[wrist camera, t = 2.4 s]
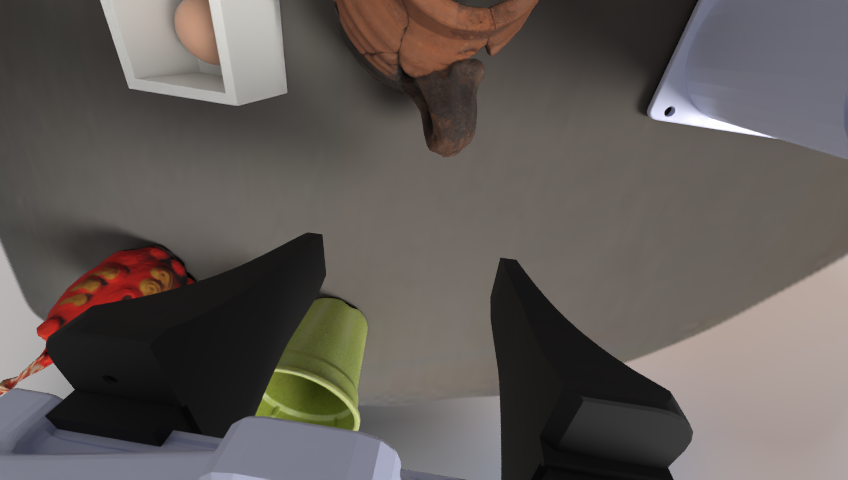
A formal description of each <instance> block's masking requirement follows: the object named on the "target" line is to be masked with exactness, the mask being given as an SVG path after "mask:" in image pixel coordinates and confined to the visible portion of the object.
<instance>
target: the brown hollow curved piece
mask: <svg viewBox="0 0 848 480" xmlns="http://www.w3.org/2000/svg"><path fill="white" fill-rule="evenodd" d="M538 1H539V0H505V1H503V2H501V3H499V4H496V5H494V6H491V7H489V8H483V7H470V6H467V5H463V4H460V3H457V2H454V1H452V0H334V6H335V9H334V12H335V16H336V19H337V24H338V26H339V29H340V31H341V34H342V37H343V39H344V41H345V43H346V44H347V46H348V47H349V49H350V50H351V51H352V52H353V54H354V55H355V56H356V58H357V59H358V61H359V62H360V64H361V65H362V66H363V67H364V68H365V69H366V70H367V71H368V72H369V73H370V74H371V75H372V76H373V77H375V78H376V79H377V80H379V81H380V82H382V83H383V84H385V85H387V86H389V87H391V88H393V89H395V90H396V91H398V92H399V93H400V94H407V95H409V96H410V97H411V98H412V99H413V101H414V102H415V103H416V105H417V107H418V109H419V111H420V113H421V117H422V122H423V130H424V136H425V140H426V143H427V146H428V148H429V150H431V151H432V152H435V153H438V154H440V155H442V156H443V157H449V156H453V155H456V154H458V153H459V152H460V151H461V150H462V149H463V148H464V147H465V146H467V145H468V144H469V143H470V142H471V140H472V139H473V136H474V133H475V128H476V118H477V103H476V93H477V89H478V86H479V84H480V83H481V82H482V80H483V79H484V65H483V64H482V62H481V61H479V60H477V59H469V58H470V57H471V56H473V55H475V54H476V53H477V51H478V50H479V49H480V48H482V47H483V46H485V48H486V51H487V53H488V54H489V55H490V56H493V55H494V54H496V53H497V52H499V51H500V49H502V48H503V47H504V46H505V45H506V44H507V43H508V42H509V41H510V39H511V38H512V37H513V36H514V35H515V34H516V33H517V32H518V31H519V30H520V28H521V27H522V26H523V24H524V23H525V21H526V20H527V18H528V16H529V14H530V13H531V11H532V10H533V8H534V6H535V5H536V4H537V3H538ZM401 67H402V68H401ZM402 69H403V70H404V72H406V73H407V74H408V75H409V76H411V77H405V76H404V75H403V73H402Z"/></svg>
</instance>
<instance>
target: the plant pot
mask: <svg viewBox="0 0 848 480" xmlns="http://www.w3.org/2000/svg"><path fill="white" fill-rule="evenodd" d="M367 330H368V327H367V322H366V320H365V318H364V316H363V315H362V313H361V312H360V311H359V310H358V309H354V308H351V307H350V306H348V305H347V304H346V303H345V302H344V301H342V300H339V299H334V298H320V299H316V300H314V302H313V303H312V305H311V307H310V308H309V310H308V311H307V313H306V315H305V316H304V318H303V319H302V321H301V323H300V324H299V326H298V328H297V329H296V331H295V332H294V334H293V336H292V337H291V339H290V341H289V342H288V344H287V346H286V348H285V350H284V352H283V354H282V356H281V358H280V360H279V362H278V364H277V366H276V369H275V371H274V373H273V375H272V377H271V380H270V382H269V384H268V386H267V389H266V391H265V393H264V395H263V398H262V400H261V403H260V405H259V408H258V410H257V412H256V415H255V416H268V417H274V418H280V419H286V420H292V421H298V422H304V423H310V424H316V425H322V426H328V427H335V428H341V429H347V430H353V431H358V429H359V425H360V414H359V411H358V409H357V408H358V393H357V389H358V383H359V377H360V371H361V365H362V359H363V353H364V348H365V342H366V336H367Z"/></svg>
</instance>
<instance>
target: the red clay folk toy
mask: <svg viewBox="0 0 848 480" xmlns="http://www.w3.org/2000/svg"><path fill="white" fill-rule="evenodd" d="M186 271H187V270H186V268H185V267H184V265H183V264H182V262H181V261H180V260H178V259H177V258H176V257H175V256H174V255H173V254H172V253H171V252H169V251H168V250H166V249H164V248H163V247H160V246H153V247H145V248H142V249H129V250H122V251H118V252H116V253H114V254H112V255H111V256H110V257H108V258H106V259H105V260H104V261H102V262H101V263H100V264H99V265H98V266H97V267H95V268H93V269H92V270H90V271H88V272H87V273H85V274H84V275H83V276H81V277H80V278H79V279H78V280H77V281H76V282H74V283H73V284H72V285H71V286H70V287H69V288H68V289H67V290H66V291H65V293H64V294H63V295H62V296H61V297H60V299H59V300H58V301H57V303H56V304H55V305H54V307H53V308H52V309H51V310H50V312H49V314H48V317H47V319H46V321H45V322H43V323H42V324H41V325H40V326H39V327H38V328H37V334H38V336H40V337H42V338H43V339H45V340H46V342H47V339H48V337H49V336H50V335H51V334H53V333H54V332H56V331H57V330H58V329H60V328H61V327H63V326H64V325H66V324H67V323H68V322H70V321H71V320H73V319H74V318H76V317H77V316H78V315H80V314H81V313H83V312H84V311H85V310H87V309H88V308H90V307H91V306H93V305H99V304H105V303H110V302H115V301H121V300H126V299H132V298H137V297H142V296H146V295H151V294H155V293H159V292H163V291H167V290H171V289H175V288H179V287H182V286H185V285H188V284H192V283H195V282H194V280H192V279H191V278H189V277H188V276H187V273H186ZM52 363H53V362H52V360H51V358H50V357H49V355H48V353H47V349H46V348H45V350H44V351H43V353H42V354H41V355H40V357H38V358H37V359H36V360H35V361H34V362H33V363H32V364H30V365H29V366H28V367H27V368H26V369H25V370H24V371H23V372H22V373H21V374H20V375H19V376H17V377H14V378H10V379H6V380H3V381H2V382H1V383H0V395H1V394H3V393H7V392H8V391H10V390H11V389H13V388H14V387H15V385H16V384H17V383H18V382H19V381H21V380H22V379H24V378H26V377H28V376H29V375H31V374H33V373H36V372H38V371H40V370H42V369H44V368H45V367H47V366H49V365H50V364H52Z"/></svg>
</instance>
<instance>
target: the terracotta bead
mask: <svg viewBox="0 0 848 480" xmlns="http://www.w3.org/2000/svg"><path fill="white" fill-rule="evenodd" d="M174 21H175V28H176V32H177V34H178V37H179V39H180V40H181V42H182V44H183V45H184V46H185V47H186V49H187V50H188V51H189V52H190V53H191V54H193V55H194V56H195V57H197V58H198V59H200V60H202V61H204V62H206V63H209V64H213V65H220V59H219V54H218V48H217V43H216V37H215V32H214V26H213V21H212V16H211V10H210V5H209V0H184V1H182V2H181V3H180V5H179V6H178V8H177V10H176V13H175V19H174Z"/></svg>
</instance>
